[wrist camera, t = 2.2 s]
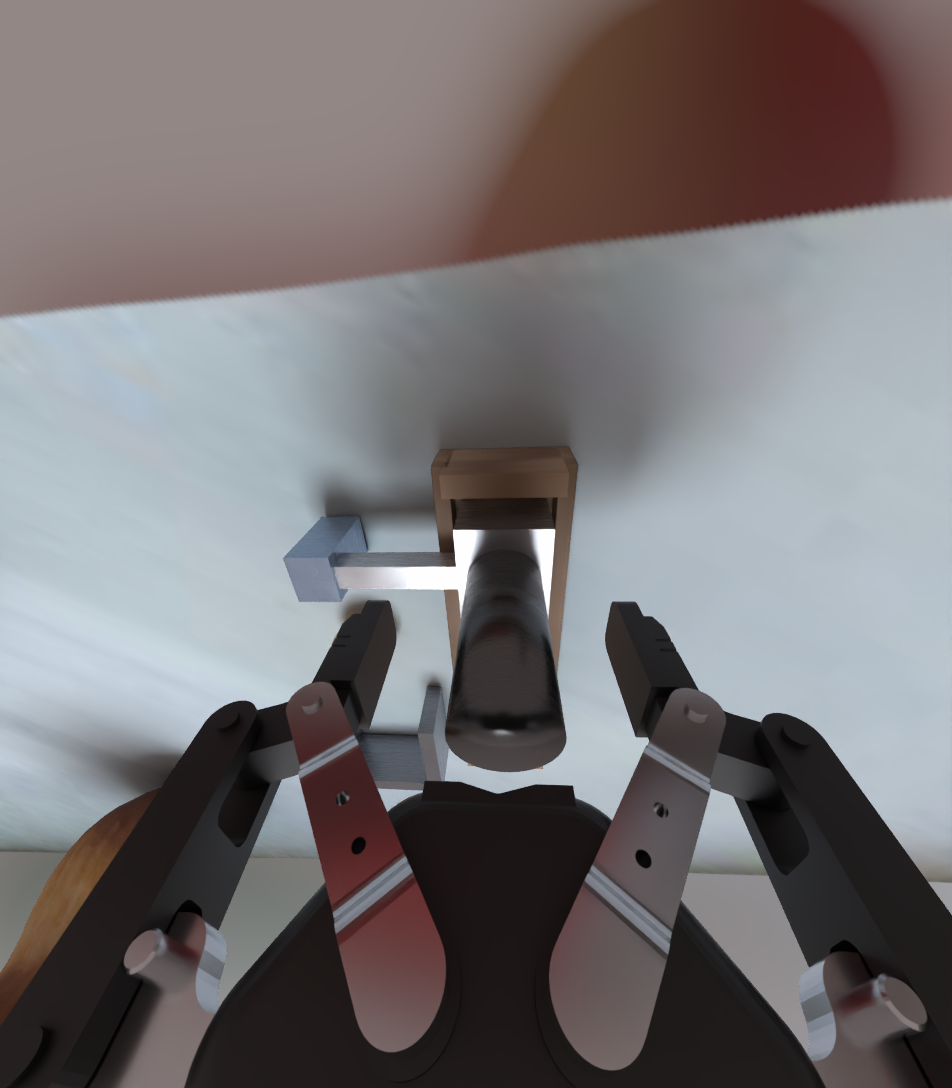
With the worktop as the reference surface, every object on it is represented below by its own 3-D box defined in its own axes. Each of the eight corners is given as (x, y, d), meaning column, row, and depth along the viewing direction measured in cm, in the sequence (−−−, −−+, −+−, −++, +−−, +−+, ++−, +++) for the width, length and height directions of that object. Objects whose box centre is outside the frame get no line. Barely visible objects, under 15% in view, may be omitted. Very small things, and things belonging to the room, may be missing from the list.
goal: (441, 686, 26) (433, 733, 23) (449, 744, 30) (443, 791, 27) (332, 684, 27) (310, 729, 24) (353, 740, 30) (336, 786, 27)
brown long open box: (568, 446, 17) (582, 472, 14) (545, 720, 27) (550, 769, 24) (439, 449, 17) (426, 475, 14) (465, 718, 28) (460, 765, 25)
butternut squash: (103, 760, 35) (-549, 1471, 13) (228, 753, 32) (-304, 1582, 11) (189, 829, 41) (-148, 1371, 20) (296, 826, 39) (49, 1428, 18)
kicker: (545, 489, 18) (592, 676, 8) (540, 574, 20) (573, 791, 11) (315, 493, 19) (122, 666, 9) (338, 574, 21) (206, 775, 12)
